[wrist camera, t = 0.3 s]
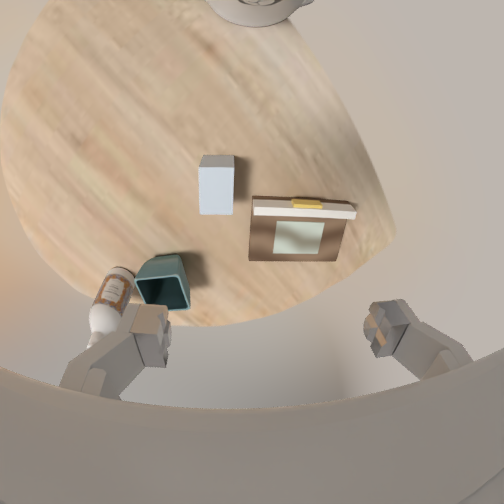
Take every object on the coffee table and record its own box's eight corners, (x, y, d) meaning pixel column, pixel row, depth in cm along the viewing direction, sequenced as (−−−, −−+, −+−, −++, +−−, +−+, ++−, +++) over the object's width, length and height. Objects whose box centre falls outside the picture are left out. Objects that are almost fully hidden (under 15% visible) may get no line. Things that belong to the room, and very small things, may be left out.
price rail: (253, 196, 46) (254, 203, 43) (351, 201, 47) (357, 208, 45) (252, 207, 47) (253, 215, 45) (348, 211, 49) (354, 219, 46)
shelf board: (252, 195, 47) (253, 199, 46) (347, 201, 49) (350, 205, 48) (248, 256, 55) (248, 261, 53) (333, 257, 56) (336, 261, 55)
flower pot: (195, 279, 57) (191, 310, 50) (156, 283, 57) (148, 313, 50) (185, 245, 52) (179, 274, 45) (144, 250, 52) (132, 279, 45)
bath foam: (137, 271, 55) (111, 347, 39) (134, 293, 59) (111, 366, 42) (108, 262, 53) (75, 334, 37) (106, 284, 57) (78, 354, 40)
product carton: (202, 196, 47) (198, 214, 41) (202, 155, 43) (197, 167, 37) (232, 196, 47) (232, 214, 42) (233, 155, 43) (234, 167, 37)
